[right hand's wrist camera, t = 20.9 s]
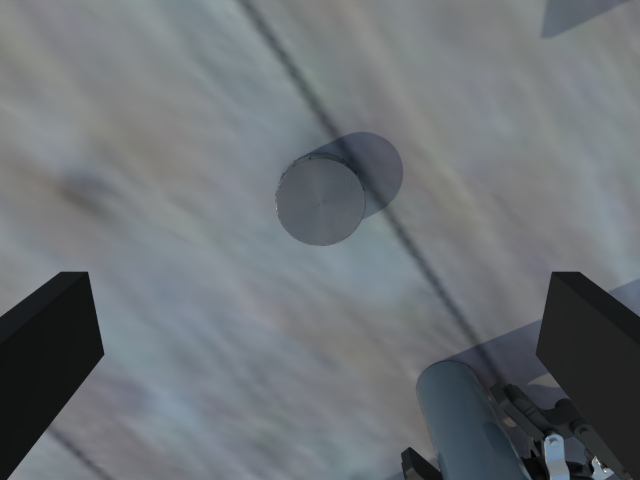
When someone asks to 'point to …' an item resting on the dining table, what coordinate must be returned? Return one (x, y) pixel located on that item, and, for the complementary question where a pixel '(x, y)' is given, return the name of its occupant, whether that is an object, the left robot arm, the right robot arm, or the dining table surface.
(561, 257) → the dining table surface
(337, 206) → the lid
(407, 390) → the dining table surface
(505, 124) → the dining table surface
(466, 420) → the jar
